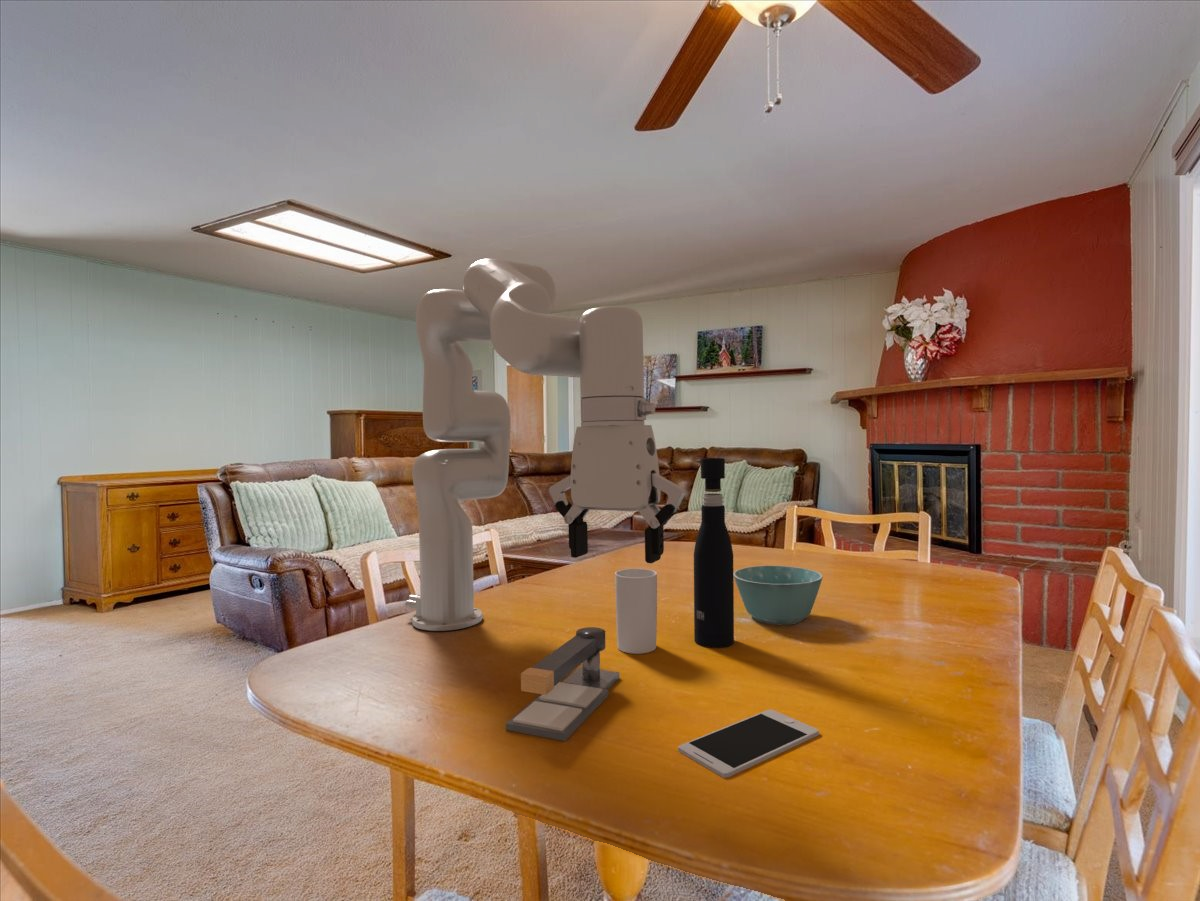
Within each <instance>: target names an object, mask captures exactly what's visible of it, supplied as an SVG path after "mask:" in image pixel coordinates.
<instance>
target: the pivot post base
mask: <svg viewBox="0 0 1200 901" xmlns="http://www.w3.org/2000/svg"><path fill="white" fill-rule="evenodd" d="M600 655H601V651H600V652H595V653H594V654H592V655H591V656H590V657H589V658H588V659H586V660H585V661H584V662H583V663H582V664H581V666H578V667H577V668H576V670H574V671H573V672H571V673H570V674H569V675H568V677H565V678H564V679H563V680H562V681H561V682H562V683H569V684H575V685H582V686H588V687H595V688H601V689H606V690H608V691H609V689H611V687H612V686H613V685H614V684H615V683H616V682H617V681H619V679H620V672H619V671H612V670H605V669H601V667H600V666H601V658H600V657H601V656H600Z"/></svg>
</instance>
